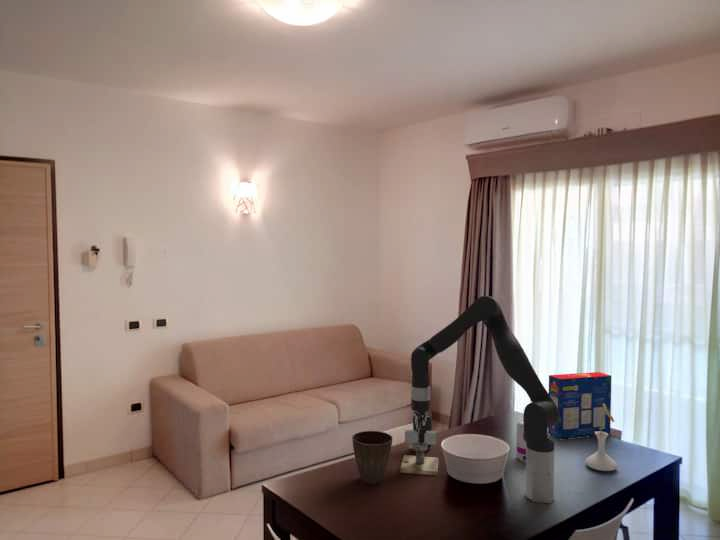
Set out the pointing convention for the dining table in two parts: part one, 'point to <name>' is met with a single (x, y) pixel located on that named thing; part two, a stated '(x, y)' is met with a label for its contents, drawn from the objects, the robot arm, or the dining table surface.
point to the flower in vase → (602, 451)
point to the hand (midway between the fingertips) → (420, 440)
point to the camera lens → (429, 425)
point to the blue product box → (580, 404)
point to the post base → (419, 464)
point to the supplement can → (521, 442)
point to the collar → (413, 440)
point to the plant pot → (372, 454)
